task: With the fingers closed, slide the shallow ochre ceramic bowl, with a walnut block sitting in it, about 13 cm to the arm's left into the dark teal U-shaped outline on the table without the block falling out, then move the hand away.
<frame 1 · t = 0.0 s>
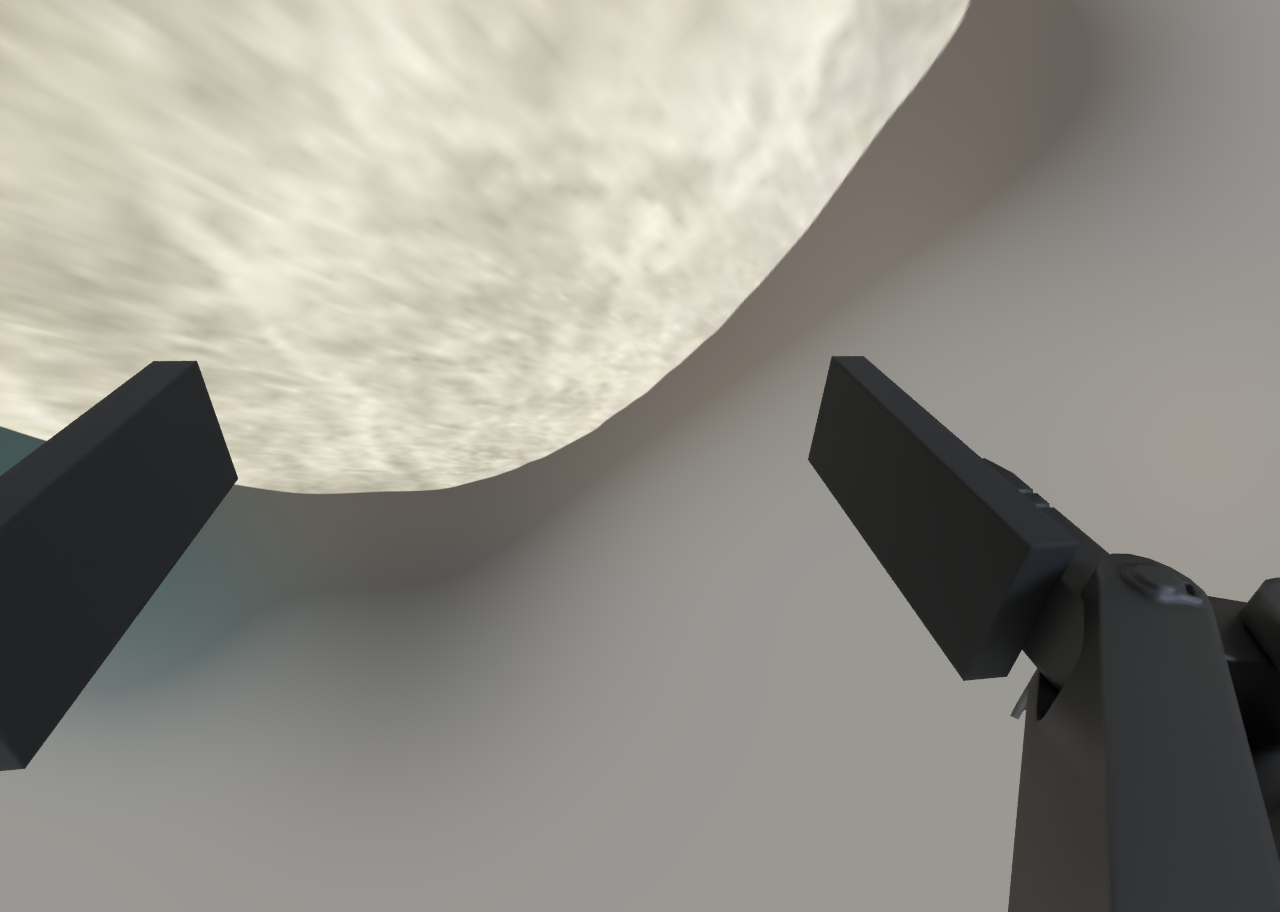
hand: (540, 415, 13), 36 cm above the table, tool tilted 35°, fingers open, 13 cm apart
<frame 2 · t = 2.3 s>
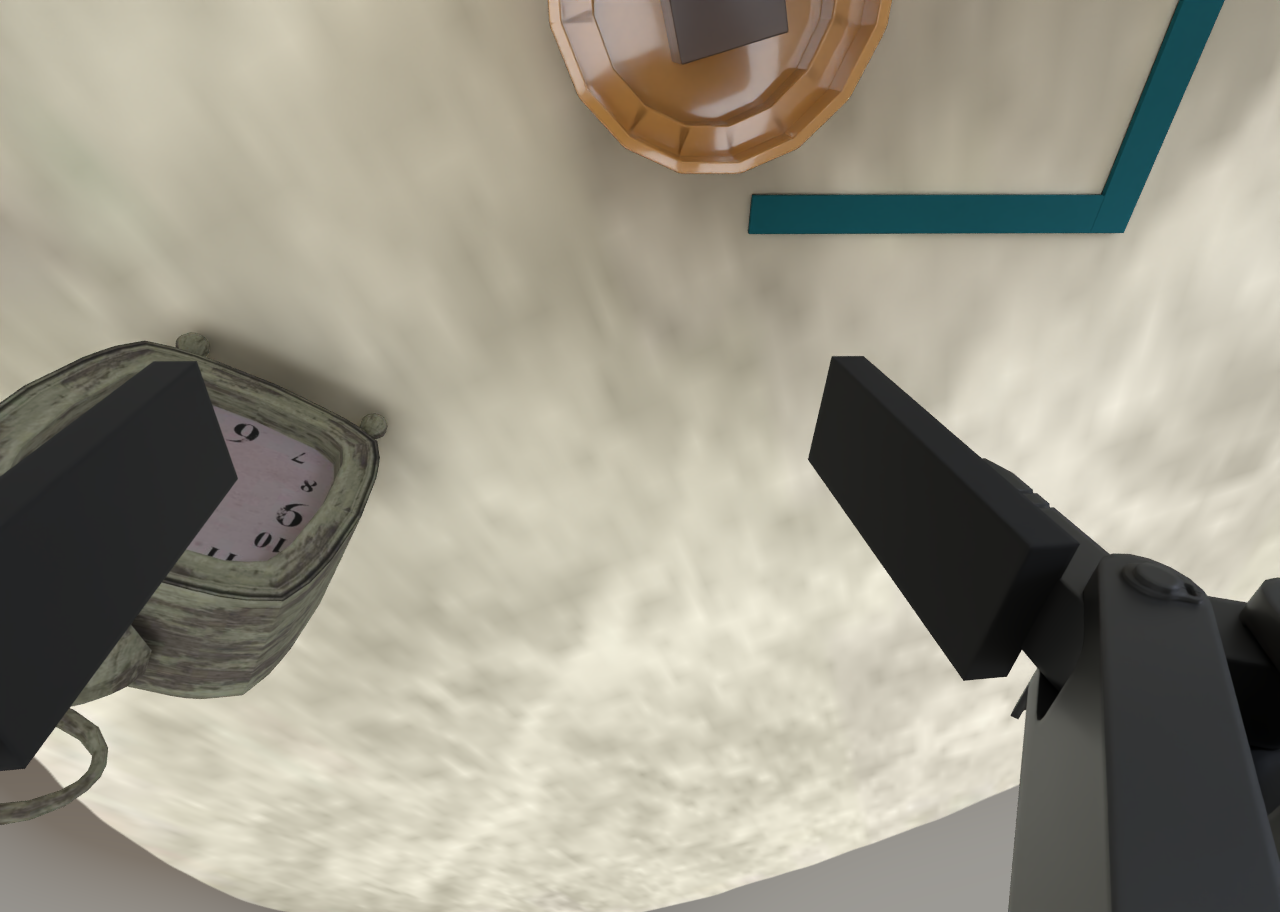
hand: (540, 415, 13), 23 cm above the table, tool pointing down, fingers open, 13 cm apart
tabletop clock: (284, 412, 40), on the table
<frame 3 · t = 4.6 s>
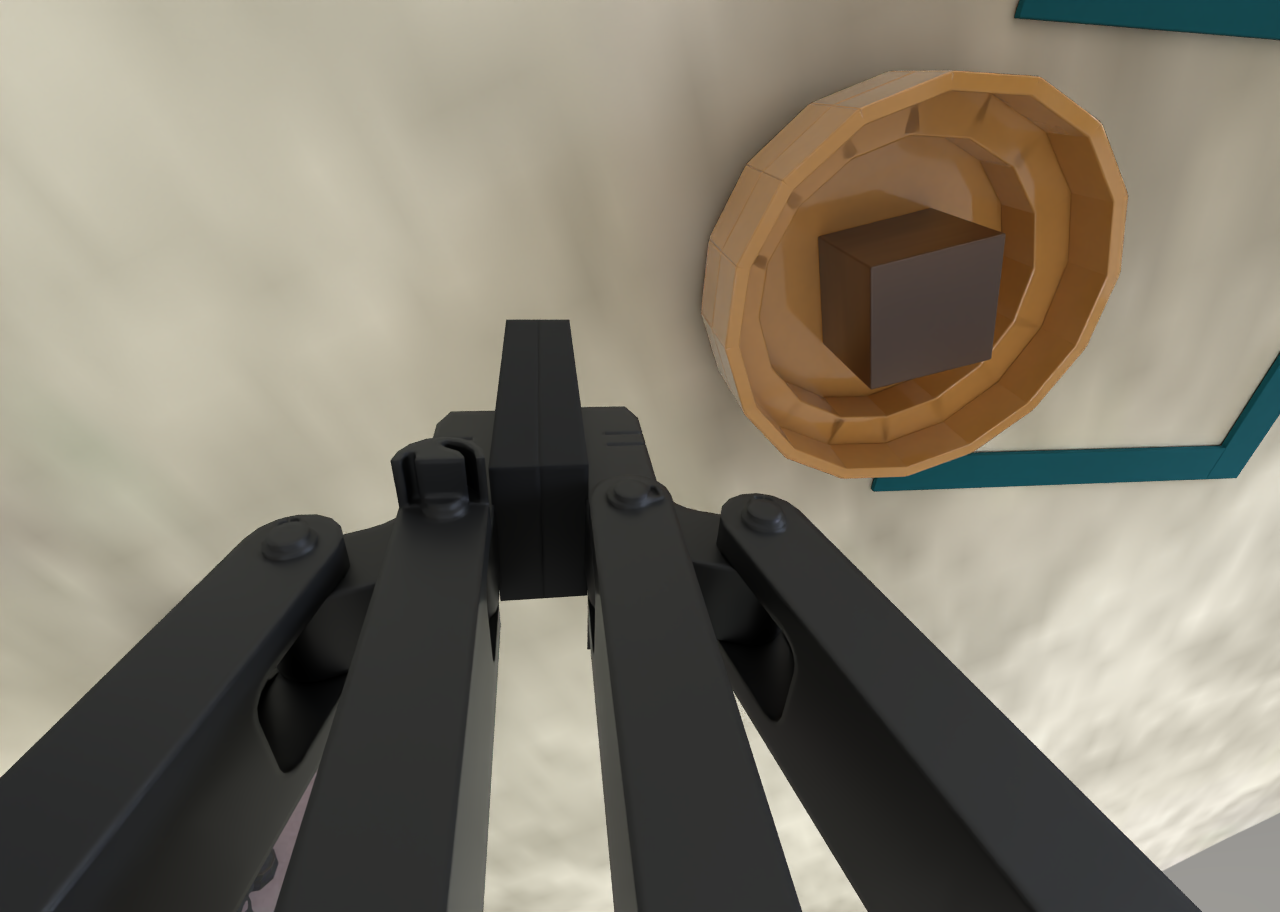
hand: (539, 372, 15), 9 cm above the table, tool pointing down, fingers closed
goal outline: (1145, 279, 27), on the table
walnut block: (874, 278, 25), point 1 cm above the table, touching bowl
bowl: (867, 274, 25), on the table, touching walnut block
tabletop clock: (314, 676, 33), on the table
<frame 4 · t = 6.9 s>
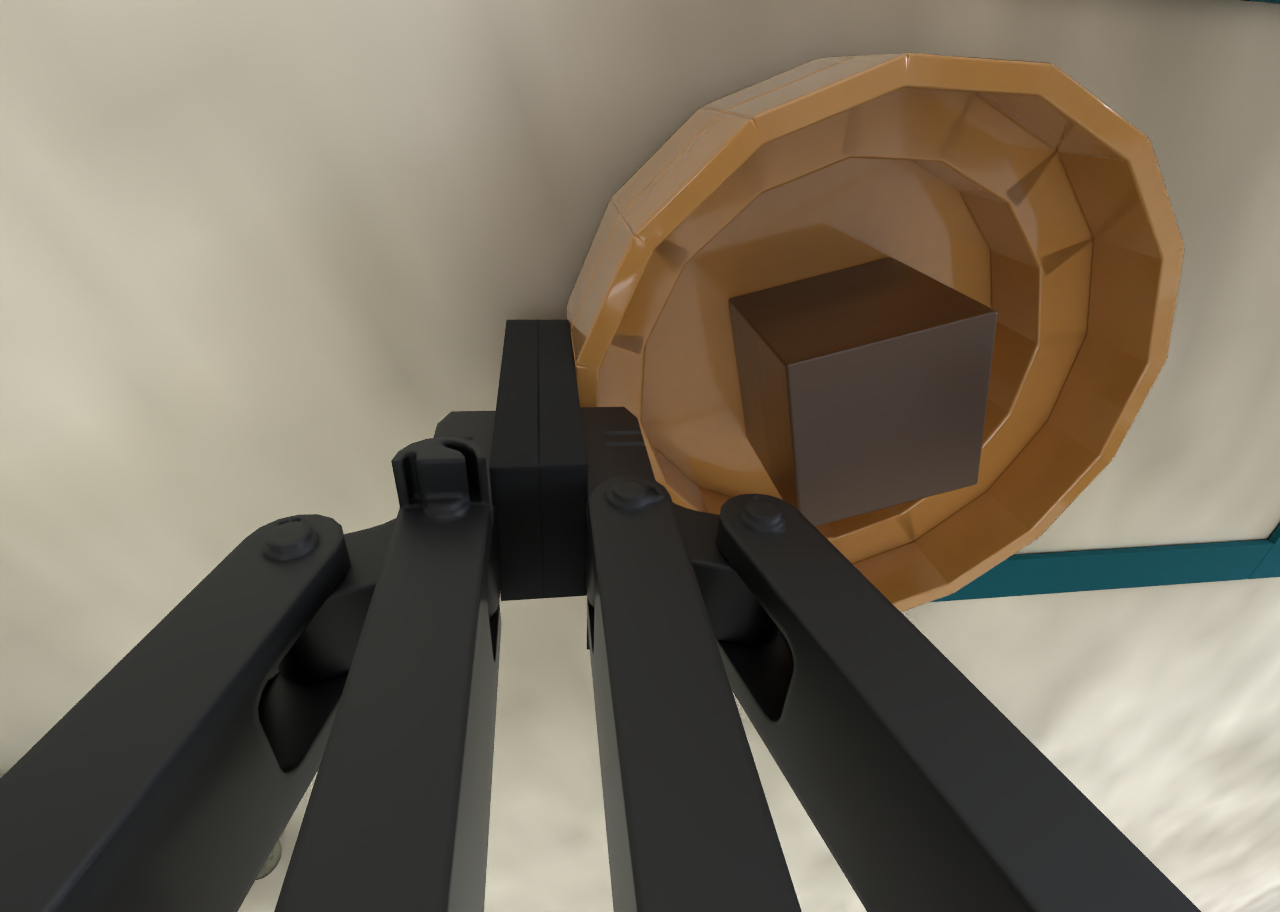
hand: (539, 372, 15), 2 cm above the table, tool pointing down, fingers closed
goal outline: (1180, 343, 20), on the table
walnut block: (814, 353, 17), point 1 cm above the table, touching bowl
bowl: (806, 345, 18), on the table, touching gripper, walnut block
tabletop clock: (113, 840, 26), on the table
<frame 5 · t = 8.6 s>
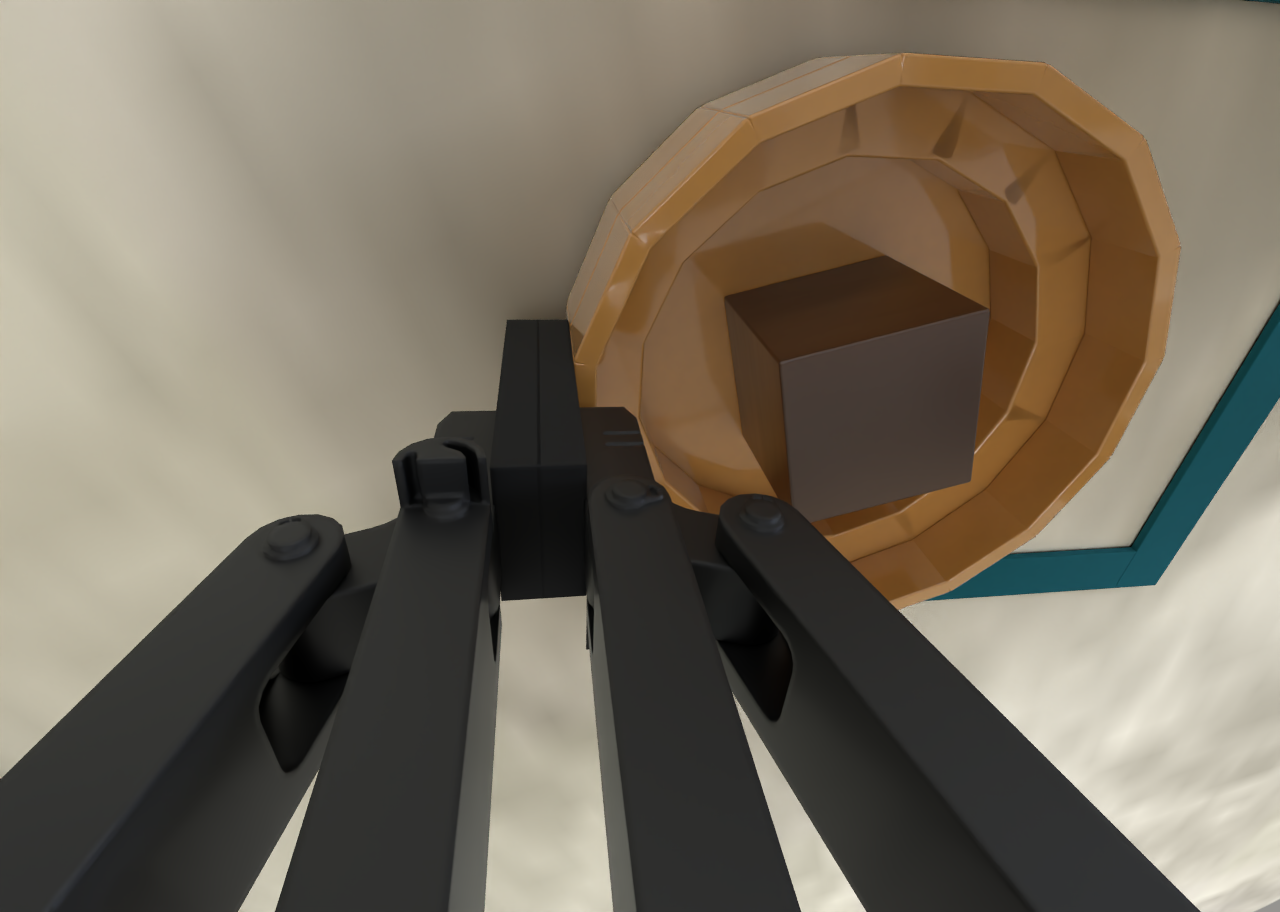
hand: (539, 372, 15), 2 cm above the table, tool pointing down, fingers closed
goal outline: (995, 343, 19), on the table
walnut block: (809, 351, 17), point 1 cm above the table
bowl: (805, 344, 18), on the table, touching gripper
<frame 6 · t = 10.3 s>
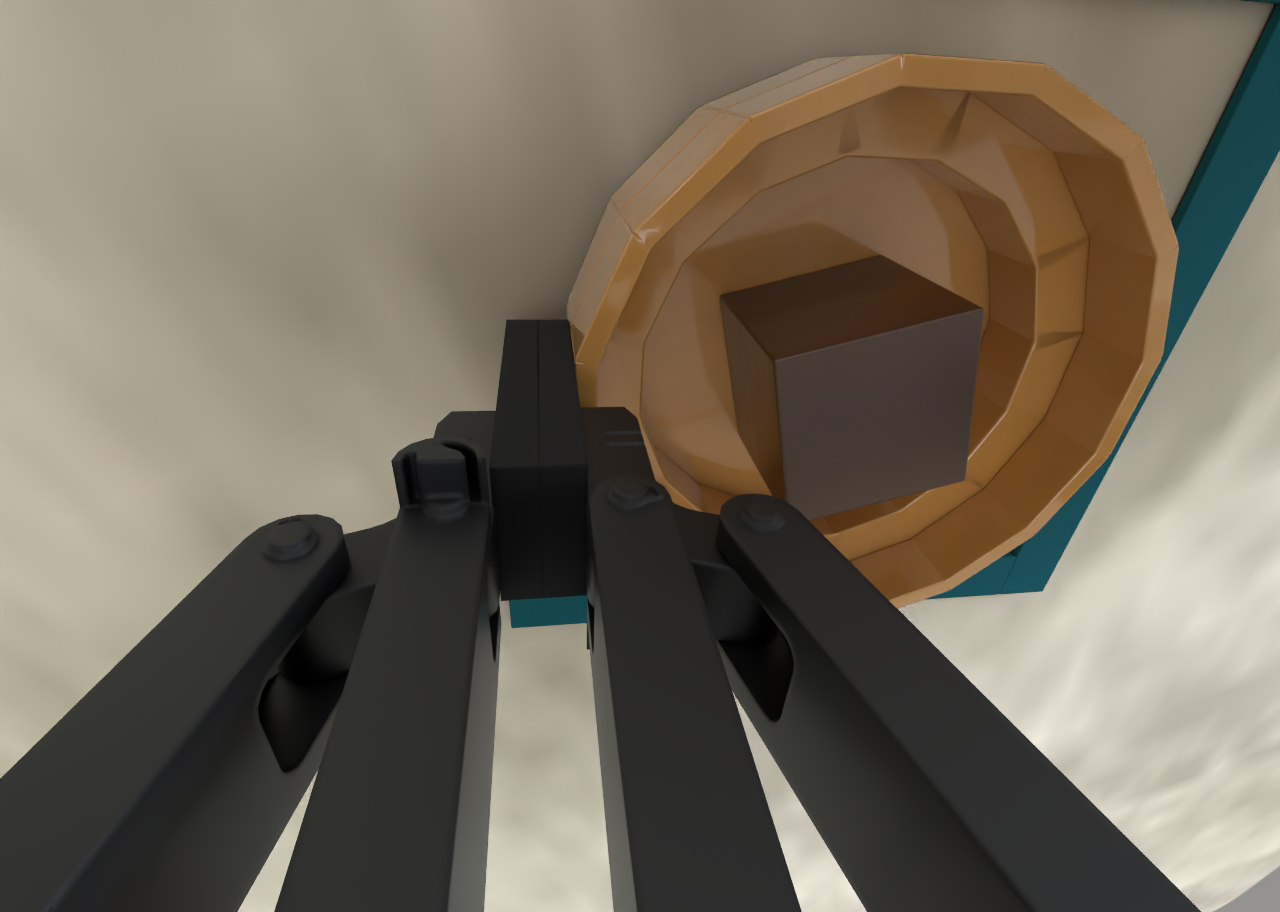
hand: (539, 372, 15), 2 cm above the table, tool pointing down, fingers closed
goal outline: (833, 342, 18), on the table
walnut block: (805, 350, 18), point 1 cm above the table, touching bowl
bowl: (804, 343, 18), on the table, touching gripper, walnut block
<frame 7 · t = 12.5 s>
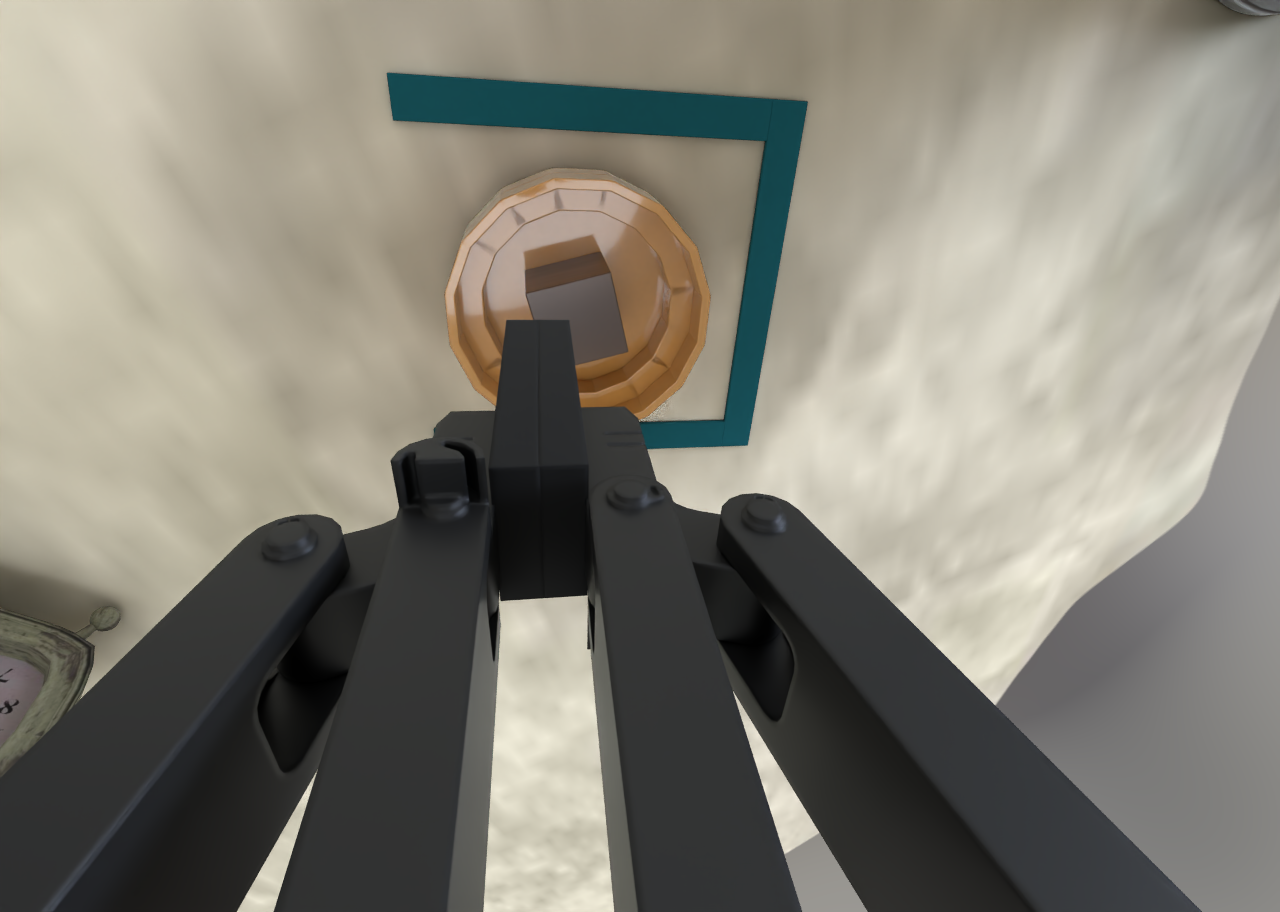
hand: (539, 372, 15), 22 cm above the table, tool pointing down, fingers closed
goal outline: (590, 295, 37), on the table
walnut block: (572, 298, 36), point 1 cm above the table, touching bowl
bowl: (575, 295, 37), on the table, touching walnut block
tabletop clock: (12, 608, 42), on the table
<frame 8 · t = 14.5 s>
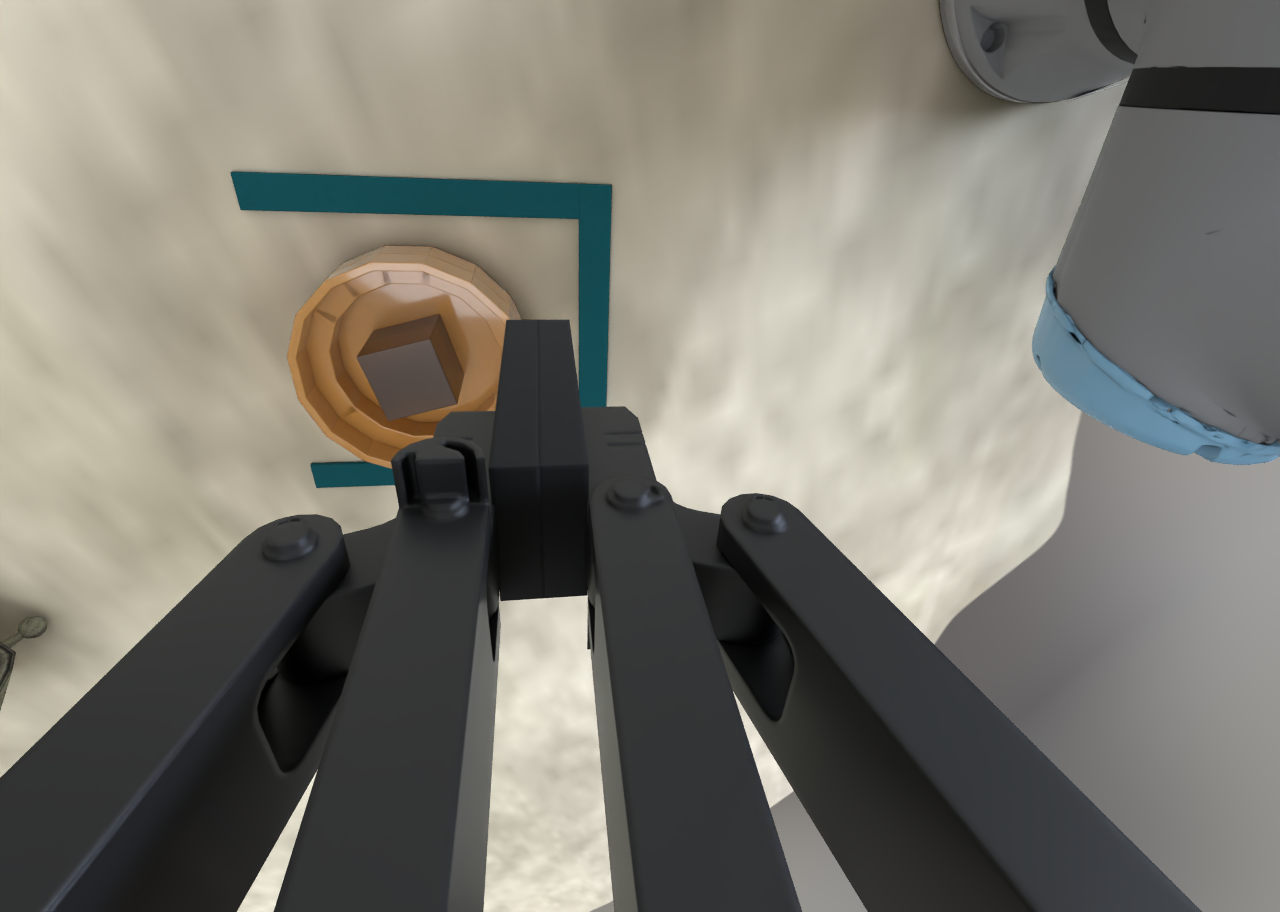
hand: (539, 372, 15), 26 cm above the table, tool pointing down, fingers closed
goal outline: (438, 349, 42), on the table
walnut block: (420, 353, 41), point 1 cm above the table, touching bowl
bowl: (425, 350, 42), on the table, touching walnut block
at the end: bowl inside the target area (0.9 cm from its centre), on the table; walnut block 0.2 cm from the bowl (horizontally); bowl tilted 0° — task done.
